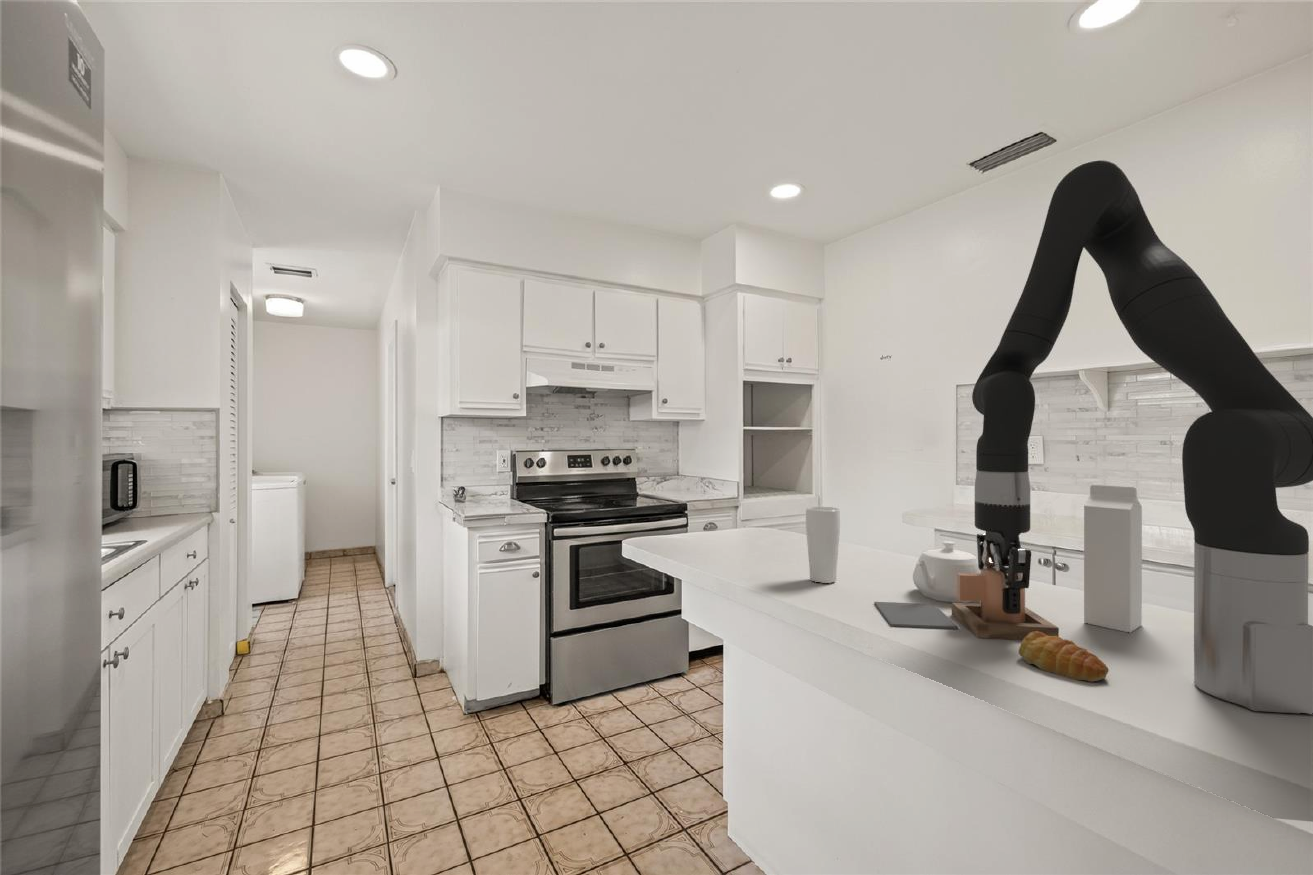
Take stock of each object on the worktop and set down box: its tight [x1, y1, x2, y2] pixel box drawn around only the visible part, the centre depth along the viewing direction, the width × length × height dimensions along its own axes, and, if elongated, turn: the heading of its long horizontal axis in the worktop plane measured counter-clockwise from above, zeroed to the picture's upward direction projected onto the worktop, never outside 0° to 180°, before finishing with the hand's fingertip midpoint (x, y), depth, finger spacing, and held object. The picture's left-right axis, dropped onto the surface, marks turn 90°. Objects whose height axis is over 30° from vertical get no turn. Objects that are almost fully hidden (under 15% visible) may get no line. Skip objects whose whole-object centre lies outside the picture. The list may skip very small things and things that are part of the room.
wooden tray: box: [951, 602, 1060, 641], centre depth 90 cm, size 11×11×2 cm
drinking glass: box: [805, 506, 841, 584], centre depth 119 cm, size 7×7×15 cm
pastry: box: [1018, 631, 1110, 683], centre depth 75 cm, size 9×7×4 cm
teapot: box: [912, 540, 981, 603], centre depth 107 cm, size 20×12×10 cm, turn 126°
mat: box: [874, 601, 960, 630], centre depth 96 cm, size 12×10×1 cm
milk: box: [1083, 484, 1143, 634], centre depth 91 cm, size 6×6×22 cm
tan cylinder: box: [957, 568, 1026, 623], centre depth 91 cm, size 10×6×8 cm, turn 81°
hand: (1001, 606), depth 90 cm, fingers closed on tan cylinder, 6 cm apart
